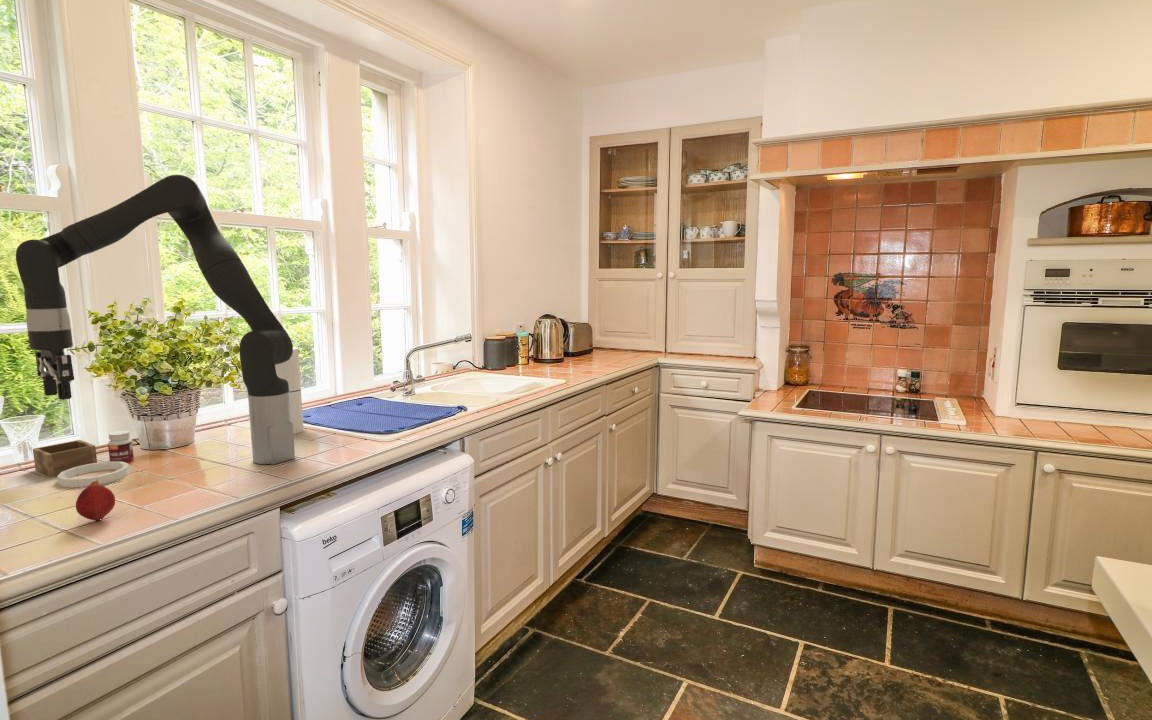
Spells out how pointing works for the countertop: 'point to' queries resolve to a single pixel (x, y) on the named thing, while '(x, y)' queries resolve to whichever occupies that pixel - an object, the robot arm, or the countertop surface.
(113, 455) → the pill bottle
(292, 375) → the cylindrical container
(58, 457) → the walnut crate
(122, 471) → the white ring
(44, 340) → the robot arm
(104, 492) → the onion
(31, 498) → the countertop surface
